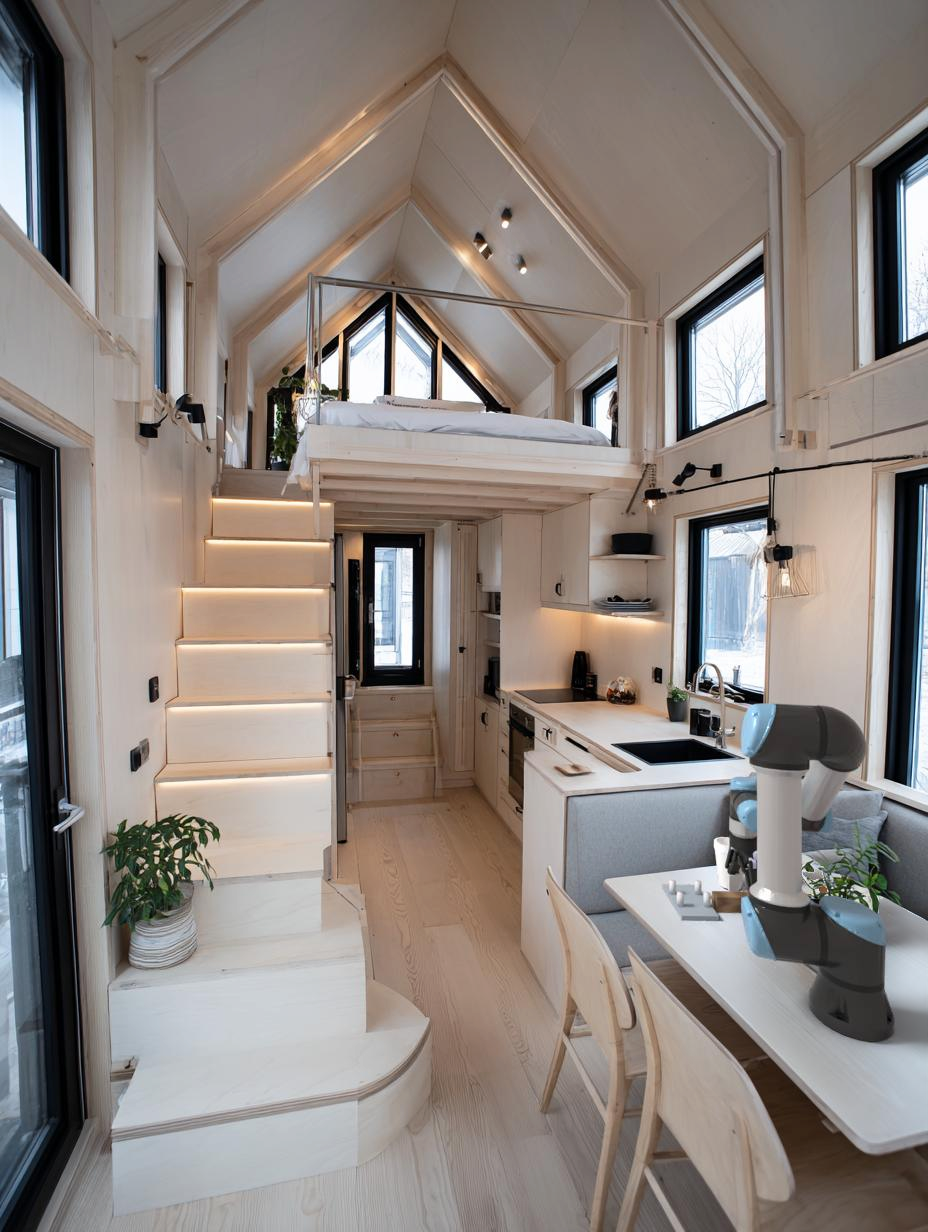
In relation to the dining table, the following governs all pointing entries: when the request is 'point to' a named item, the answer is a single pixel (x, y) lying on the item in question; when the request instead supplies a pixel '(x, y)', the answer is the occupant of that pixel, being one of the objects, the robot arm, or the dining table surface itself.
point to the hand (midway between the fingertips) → (742, 908)
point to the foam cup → (724, 861)
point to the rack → (690, 901)
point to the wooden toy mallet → (727, 901)
